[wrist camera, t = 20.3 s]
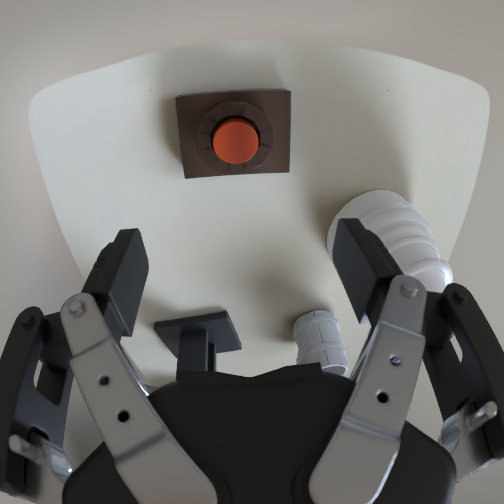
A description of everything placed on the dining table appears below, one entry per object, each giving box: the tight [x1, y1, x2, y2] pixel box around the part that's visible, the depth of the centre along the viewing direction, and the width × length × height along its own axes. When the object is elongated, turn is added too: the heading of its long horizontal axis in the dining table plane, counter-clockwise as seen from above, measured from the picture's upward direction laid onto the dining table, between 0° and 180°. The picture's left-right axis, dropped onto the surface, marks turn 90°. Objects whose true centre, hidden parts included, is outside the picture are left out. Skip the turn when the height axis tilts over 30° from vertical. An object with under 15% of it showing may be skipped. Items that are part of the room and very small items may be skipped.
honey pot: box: [327, 190, 453, 293], centre depth 27 cm, size 13×13×18 cm
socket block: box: [176, 89, 291, 179], centre depth 23 cm, size 10×8×4 cm
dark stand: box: [154, 311, 242, 381], centre depth 38 cm, size 12×9×14 cm
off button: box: [213, 118, 258, 164], centre depth 22 cm, size 4×4×2 cm
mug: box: [293, 310, 348, 376], centre depth 41 cm, size 8×12×12 cm, turn 164°
